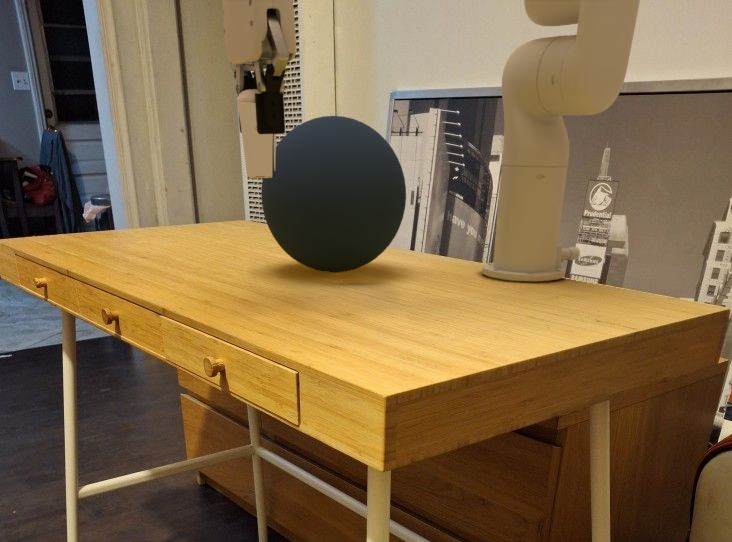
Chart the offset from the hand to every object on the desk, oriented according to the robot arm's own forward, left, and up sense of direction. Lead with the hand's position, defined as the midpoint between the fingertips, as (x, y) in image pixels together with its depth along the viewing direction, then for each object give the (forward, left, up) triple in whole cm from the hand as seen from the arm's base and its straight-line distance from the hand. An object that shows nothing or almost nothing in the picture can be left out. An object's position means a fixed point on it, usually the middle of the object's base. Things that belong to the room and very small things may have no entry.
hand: (262, 131), depth 87 cm
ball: (-19, -20, -20) cm, 34 cm away
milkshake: (0, 0, -5) cm, 5 cm away
